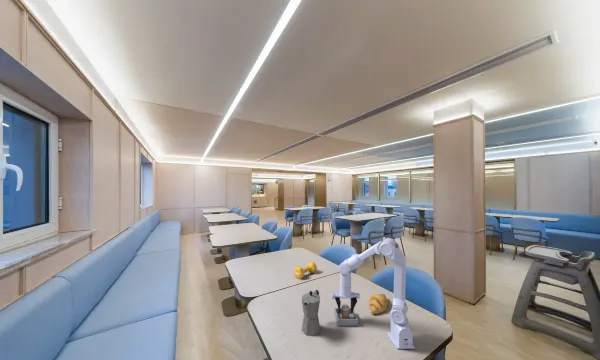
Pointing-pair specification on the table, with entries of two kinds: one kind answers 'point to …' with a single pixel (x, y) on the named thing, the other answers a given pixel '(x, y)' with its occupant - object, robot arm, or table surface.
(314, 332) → the coffeepot
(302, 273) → the dumbbell
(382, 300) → the croissant
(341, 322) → the bin
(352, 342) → the table surface
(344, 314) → the shaker
